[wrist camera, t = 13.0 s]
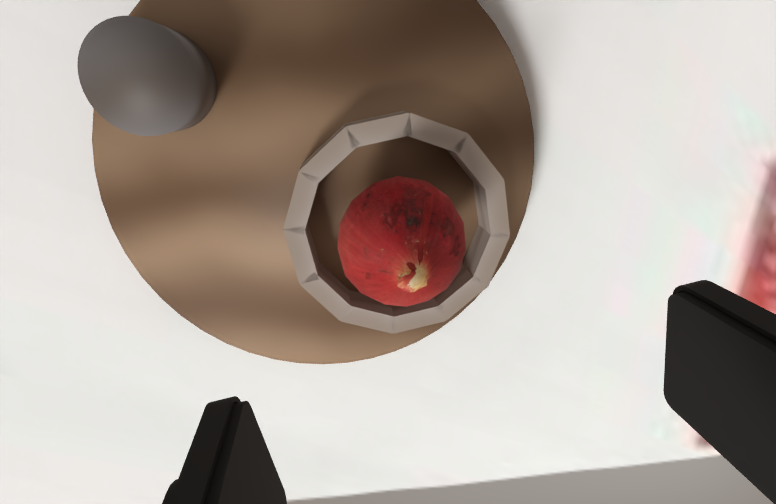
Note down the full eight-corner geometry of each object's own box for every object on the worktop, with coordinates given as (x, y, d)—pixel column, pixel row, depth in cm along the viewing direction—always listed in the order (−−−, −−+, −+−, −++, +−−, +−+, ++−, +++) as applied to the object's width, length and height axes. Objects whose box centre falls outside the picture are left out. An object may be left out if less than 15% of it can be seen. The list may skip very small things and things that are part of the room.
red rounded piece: (344, 157, 22) (350, 190, 15) (453, 173, 23) (511, 211, 16) (331, 264, 24) (330, 341, 17) (432, 275, 25) (475, 352, 17)
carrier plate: (24, -14, 20) (-61, -43, 15) (501, -109, 20) (544, -162, 16) (197, 385, 27) (172, 439, 23) (537, 304, 28) (572, 341, 24)
